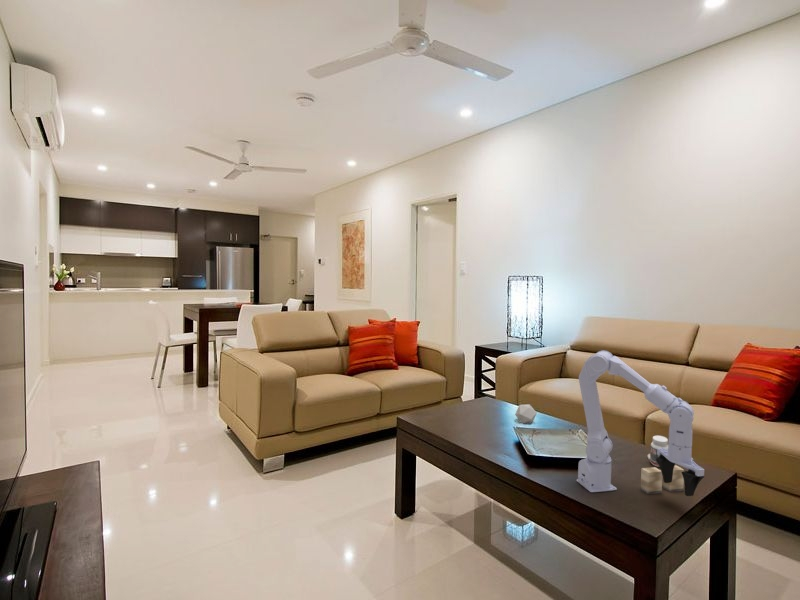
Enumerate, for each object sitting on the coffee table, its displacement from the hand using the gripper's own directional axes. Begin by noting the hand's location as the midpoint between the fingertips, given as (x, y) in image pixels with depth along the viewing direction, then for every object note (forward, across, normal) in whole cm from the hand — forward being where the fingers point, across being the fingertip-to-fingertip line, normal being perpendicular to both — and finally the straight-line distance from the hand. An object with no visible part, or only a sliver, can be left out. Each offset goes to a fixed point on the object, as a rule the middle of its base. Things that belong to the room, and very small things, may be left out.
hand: (678, 488), depth 122 cm
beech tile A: (+6, +10, 0) cm, 12 cm away
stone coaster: (+6, +30, -22) cm, 37 cm away
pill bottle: (+6, +26, -18) cm, 32 cm away
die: (+6, +76, +10) cm, 77 cm away
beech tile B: (+6, +10, -8) cm, 14 cm away
